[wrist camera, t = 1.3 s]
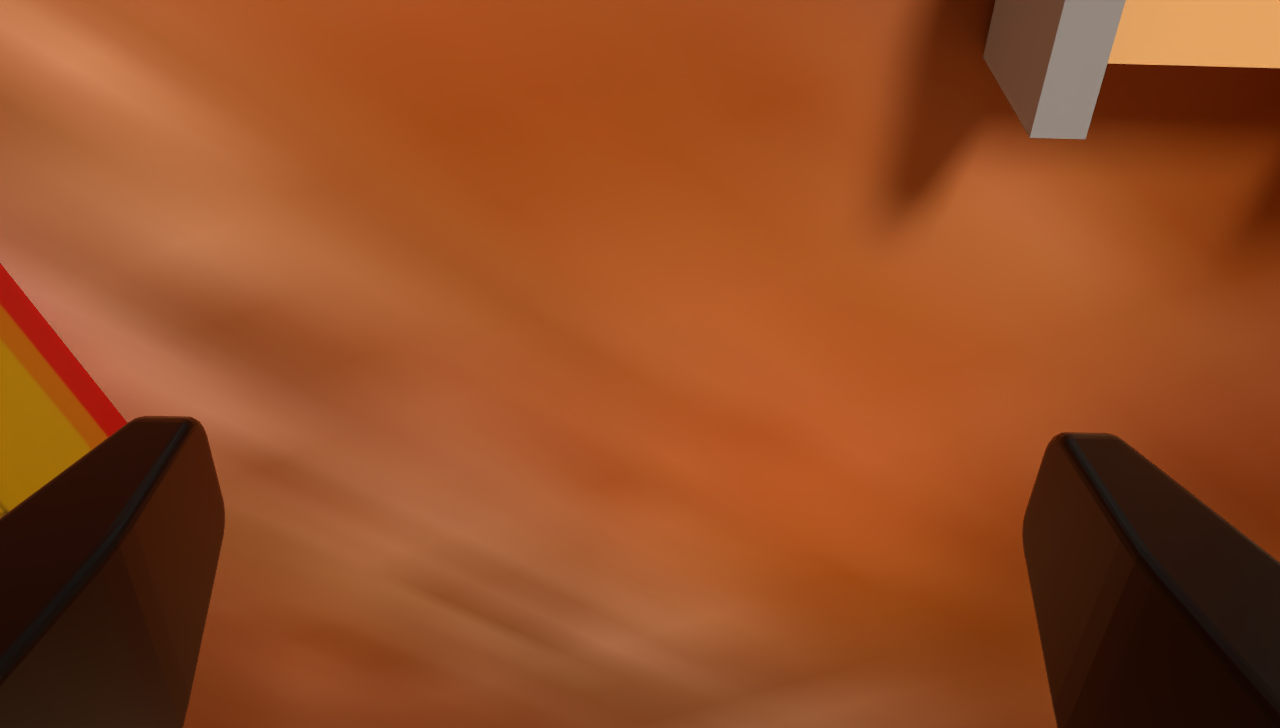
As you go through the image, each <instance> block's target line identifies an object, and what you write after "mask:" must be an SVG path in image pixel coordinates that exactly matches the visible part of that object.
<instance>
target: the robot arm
mask: <svg viewBox="0 0 1280 728" xmlns="http://www.w3.org/2000/svg"><path fill="white" fill-rule="evenodd" d="M224 526H225V510H224V502H223V497H222V493H221V490H220V486H219V482H218V478H217V474H216V470H215V466H214V462H213V458H212V454H211V450H210V446H209V442H208V438H207V435H206V432H205V430H204V428H203V426H202V425H201V423H200V422H199V421H198V420H196V419H194V418H192V417H179V416H144V417H138V418H135V419H133V420H132V421H130V422H128V423H127V424H126V425H124V426H123V427H122V428H120V429H119V430H117V431H116V432H115V433H113V434H112V435H111V436H109V437H108V438H107V439H105V440H104V441H103V442H101V443H100V444H99V445H97V446H96V447H95V448H93V449H92V450H91V451H89V452H88V453H87V454H85V455H84V456H83V457H81V458H80V459H79V460H77V461H76V462H75V463H73V464H72V465H71V466H69V467H68V468H67V469H65V470H64V471H63V472H61V473H60V474H59V475H57V476H56V477H55V478H53V479H52V480H51V481H49V482H48V483H47V484H45V485H44V486H43V487H41V488H40V489H39V490H37V491H36V492H35V493H33V494H32V495H31V496H29V497H28V498H27V499H25V500H24V501H23V502H21V503H20V504H18V505H17V506H16V507H14V508H13V509H12V510H10V511H9V512H8V513H6V514H5V515H4V516H2V517H1V518H0V728H183V725H184V721H185V717H186V712H187V708H188V704H189V699H190V695H191V690H192V685H193V680H194V676H195V671H196V666H197V661H198V656H199V651H200V647H201V642H202V637H203V632H204V627H205V622H206V618H207V613H208V608H209V603H210V598H211V594H212V589H213V584H214V579H215V574H216V569H217V565H218V560H219V555H220V550H221V545H222V540H223V535H224ZM1023 548H1024V554H1025V559H1026V564H1027V570H1028V575H1029V581H1030V586H1031V591H1032V597H1033V602H1034V607H1035V613H1036V618H1037V624H1038V629H1039V634H1040V640H1041V645H1042V650H1043V656H1044V661H1045V667H1046V672H1047V677H1048V683H1049V688H1050V693H1051V699H1052V704H1053V709H1054V714H1055V719H1056V723H1057V728H1280V562H1279V561H1277V560H1276V559H1275V558H1273V557H1272V556H1271V555H1270V554H1268V553H1267V552H1266V551H1265V550H1263V549H1262V548H1261V547H1259V546H1258V545H1257V544H1256V543H1254V542H1253V541H1252V540H1250V539H1249V538H1248V537H1247V536H1245V535H1244V534H1243V533H1241V532H1240V531H1239V530H1238V529H1236V528H1235V527H1234V526H1232V525H1231V524H1230V523H1229V522H1227V521H1226V520H1225V519H1223V518H1222V517H1221V516H1220V515H1218V514H1217V513H1216V512H1214V511H1213V510H1212V509H1211V508H1209V507H1208V506H1207V505H1205V504H1204V503H1203V502H1202V501H1200V500H1199V499H1198V498H1196V497H1195V496H1194V495H1193V494H1191V493H1190V492H1189V491H1188V490H1186V489H1185V488H1184V487H1182V486H1181V485H1180V484H1179V483H1177V482H1176V481H1175V480H1173V479H1172V478H1171V477H1170V476H1168V475H1167V474H1166V473H1164V472H1163V471H1162V470H1161V469H1159V468H1158V467H1157V466H1155V465H1154V464H1153V463H1152V462H1150V461H1149V460H1148V459H1146V458H1145V457H1144V456H1143V455H1141V454H1140V453H1139V452H1137V451H1136V450H1135V449H1134V448H1132V447H1131V446H1130V445H1128V444H1127V443H1126V442H1125V441H1123V440H1122V439H1120V438H1119V437H1117V436H1115V435H1112V434H1107V433H1069V432H1065V433H1060V434H1058V435H1056V436H1054V437H1053V438H1052V439H1051V441H1050V442H1049V444H1048V446H1047V448H1046V450H1045V453H1044V456H1043V459H1042V462H1041V465H1040V469H1039V472H1038V475H1037V478H1036V481H1035V484H1034V487H1033V490H1032V493H1031V496H1030V499H1029V503H1028V506H1027V509H1026V512H1025V516H1024V521H1023Z"/></svg>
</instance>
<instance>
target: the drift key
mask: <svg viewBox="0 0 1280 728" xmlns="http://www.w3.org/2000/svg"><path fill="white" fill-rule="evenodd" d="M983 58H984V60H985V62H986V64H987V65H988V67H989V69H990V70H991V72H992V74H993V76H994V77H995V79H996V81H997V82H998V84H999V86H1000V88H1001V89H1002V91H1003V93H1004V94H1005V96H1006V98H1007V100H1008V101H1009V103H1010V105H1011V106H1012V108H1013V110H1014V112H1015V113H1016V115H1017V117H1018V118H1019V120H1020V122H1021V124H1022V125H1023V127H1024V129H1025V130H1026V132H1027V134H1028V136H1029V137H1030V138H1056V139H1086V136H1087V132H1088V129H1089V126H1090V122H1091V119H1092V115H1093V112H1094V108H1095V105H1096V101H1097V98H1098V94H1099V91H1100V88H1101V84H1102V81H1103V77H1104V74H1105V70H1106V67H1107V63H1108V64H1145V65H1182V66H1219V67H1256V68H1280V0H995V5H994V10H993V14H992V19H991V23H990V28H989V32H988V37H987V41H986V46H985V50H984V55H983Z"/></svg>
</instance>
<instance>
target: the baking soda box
mask: <svg viewBox="0 0 1280 728" xmlns="http://www.w3.org/2000/svg"><path fill="white" fill-rule="evenodd" d="M126 424H127V422H126V421H125V419H124V418H123V417H122V416H121V414H120V413H119V412H118V411H117V409H116V408H115V407H114V406H113V404H112V403H111V402H110V401H109V399H108V398H107V397H106V396H105V394H104V393H103V392H102V391H101V389H100V388H99V387H98V386H97V384H96V383H95V382H94V380H93V379H92V378H91V377H90V375H89V374H88V373H87V372H86V370H85V369H84V368H83V367H82V365H81V364H80V363H79V362H78V360H77V359H76V358H75V357H74V355H73V354H72V353H71V352H70V350H69V349H68V348H67V347H66V345H65V344H64V343H63V341H62V340H61V339H60V338H59V336H58V335H57V334H56V333H55V331H54V330H53V329H52V328H51V326H50V325H49V324H48V323H47V321H46V320H45V319H44V318H43V316H42V315H41V314H40V313H39V311H38V310H37V309H36V308H35V306H34V305H33V304H32V303H31V301H30V300H29V299H28V297H27V296H26V295H25V294H24V292H23V291H22V290H21V289H20V287H19V286H18V285H17V284H16V282H15V281H14V280H13V279H12V277H11V276H10V275H9V274H8V272H7V271H6V270H5V269H4V267H3V266H2V265H1V264H0V518H1V517H2V516H4V515H5V514H6V513H8V512H9V511H10V510H12V509H13V508H14V507H16V506H17V505H18V504H20V503H21V502H23V501H24V500H25V499H27V498H28V497H29V496H31V495H32V494H33V493H35V492H36V491H37V490H39V489H40V488H41V487H43V486H44V485H45V484H47V483H48V482H49V481H51V480H52V479H53V478H55V477H56V476H57V475H59V474H60V473H61V472H63V471H64V470H65V469H67V468H68V467H69V466H71V465H72V464H73V463H75V462H76V461H77V460H79V459H80V458H81V457H83V456H84V455H85V454H87V453H88V452H89V451H91V450H92V449H93V448H95V447H96V446H97V445H99V444H100V443H101V442H103V441H104V440H105V439H107V438H108V437H109V436H111V435H112V434H113V433H115V432H116V431H117V430H119V429H120V428H122V427H123V426H124V425H126Z"/></svg>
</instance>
